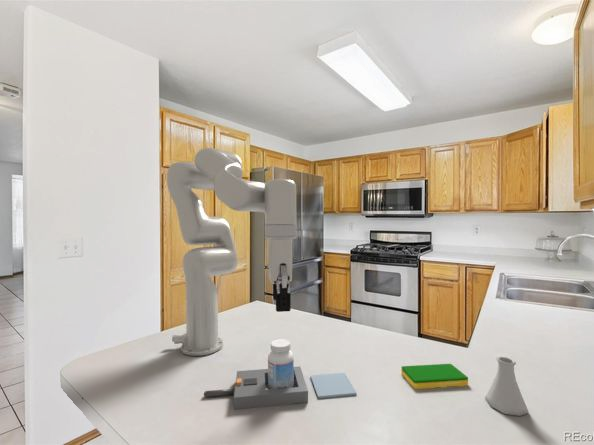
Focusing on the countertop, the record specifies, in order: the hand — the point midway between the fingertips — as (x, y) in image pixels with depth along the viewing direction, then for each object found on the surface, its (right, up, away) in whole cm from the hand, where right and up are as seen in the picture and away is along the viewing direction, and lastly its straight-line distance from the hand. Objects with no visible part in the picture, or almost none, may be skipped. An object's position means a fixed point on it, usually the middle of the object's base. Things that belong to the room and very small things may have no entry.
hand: (281, 304), depth 69 cm
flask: (+49, -20, -6) cm, 53 cm away
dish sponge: (+38, -21, +5) cm, 44 cm away
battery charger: (-6, -20, -1) cm, 21 cm away
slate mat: (+12, -20, +2) cm, 24 cm away
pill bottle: (0, -20, 0) cm, 20 cm away
